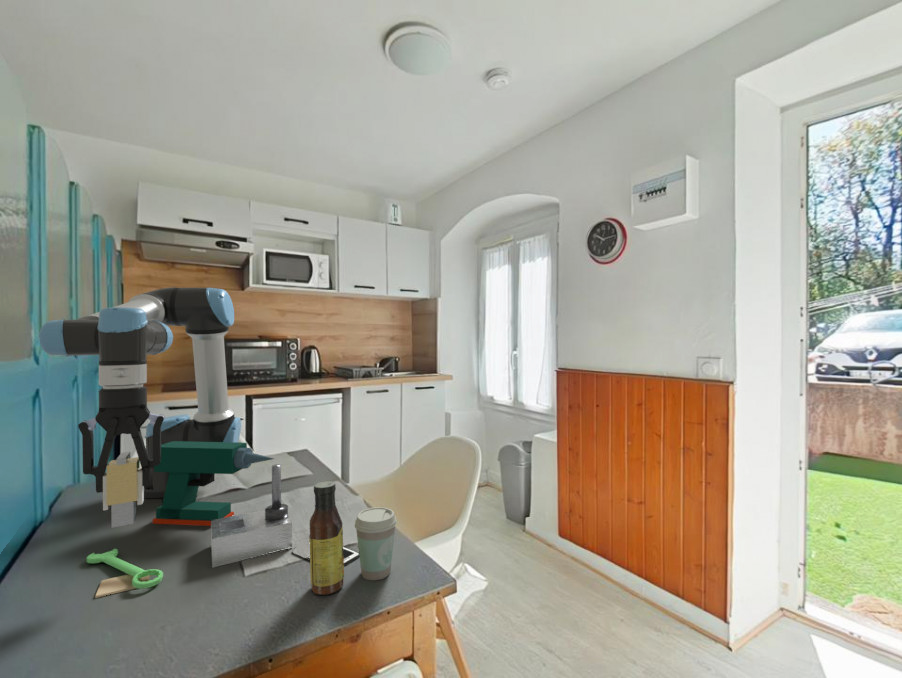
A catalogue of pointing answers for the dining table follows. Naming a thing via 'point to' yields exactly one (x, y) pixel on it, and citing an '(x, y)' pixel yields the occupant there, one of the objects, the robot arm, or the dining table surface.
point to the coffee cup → (375, 541)
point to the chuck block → (252, 530)
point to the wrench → (127, 568)
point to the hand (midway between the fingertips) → (123, 504)
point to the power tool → (198, 478)
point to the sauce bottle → (326, 542)
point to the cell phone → (348, 555)
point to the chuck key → (122, 489)
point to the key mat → (117, 585)
